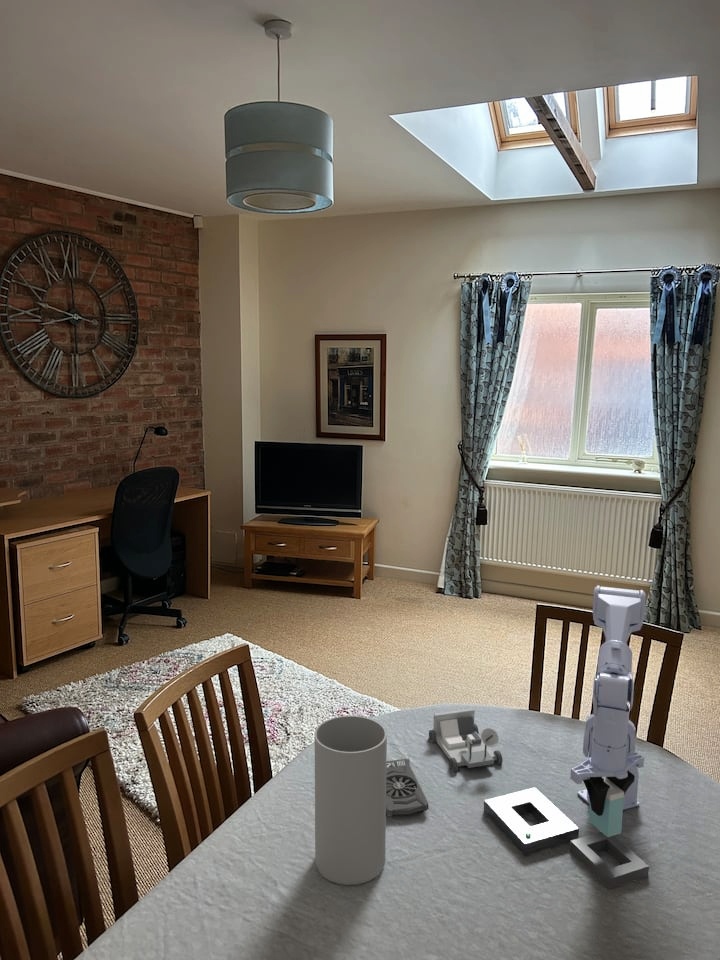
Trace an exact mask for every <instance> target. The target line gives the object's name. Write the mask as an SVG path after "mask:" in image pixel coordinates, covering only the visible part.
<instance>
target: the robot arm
mask: <svg viewBox="0 0 720 960" xmlns="http://www.w3.org/2000/svg"><path fill="white" fill-rule="evenodd" d="M646 594H647V593H646V592H645V591H644V589H640V590H639V589H638V590H637V589H629V588H619V587H618V588H617V587H609V586H600V585H599V584H597V585H596V586H595V587H594V589H593V598H592V617H593V618H592V620H593V622H594V623H593V624H594V625H596V626H597V627H598V628H601V629H602V630H603V634H604V637H605V642H603V644H601V645H600V646H599V649H598V658H597V659H598V661H597V670H596V674H594V677H593V687H592V703H593V707H592V708H593V713H592V714H589V715H588V716H587V718H586V719H585V725H584V731H583V741H582V742H583V744H582V754H583V756H584V757H585V758H587V759H586V760H585V761H583V762H582V763H580V764H579V765H577V766H575V767H573V768H570V779H571V780H572V781H573V782H574V783H575V784H576V785H581V784H584V786H585V789H581V790H578V791H577V796H579V797H580V798H582V799H583V801H585V802H586V803H587V804H588V805H590V803H591V809H592V811H593V812H595V813H596V814H597V815H598V816H601V815H602V814H603V810H604V802H605V798H606V794H607V792H608V790H609V788H610V786H609V785H608V784H606V783H605V782H604V779H603V778H602V777H606V778H607V779H608V780H610V781H611V782H612V783H614V784H615V785H616V786H617V787H619V788H620V789H621V790H622V791H624V802H623V811H624V810H629V809H632V808H635V807H639V806H640V802H639V801H638V792H639V791H638V790H639V789H638V787H639V777H640V776H639V774H640V773H639V770H638V768H639V769H640V768H644V762H645V757H644V756H643V755H642V754H640V753H639V752H637V751H636V744H637V743H636V741H637V740H636V738H637V737H636V727H635V724H634V723H633V722H632V721H631V720H630V711H632V709H633V705H634V704H633V703H634V691H635V681H634V678H633V677H634V674H633V671H632V667H633V651H632V649H631V648H630V646H629V645H628V640H629V638H630V636H631V634H632V633H633V632H638V631H641V629H642V627H643V623H644V620H645V613H646V612H645V611H646V597H647V595H646ZM628 704H629V705H628Z"/></svg>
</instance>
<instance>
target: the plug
mask: <svg viewBox="0 0 720 960" xmlns="http://www.w3.org/2000/svg"><path fill="white" fill-rule="evenodd" d="M602 778H603V779H604V782H605V783H606V784H608V785H609V786H610V788H609V790H608V792H607V794H606V798H605V802H604V810H603V814H602V815H601V816H598V815H597V814H596V813H595V812H593V811H592V809H591V803H590V804H588V805H589V809H588V822H589V823H591V824H592V825H593V826H594V827H595V828H596V829H598V830H599V832H602V833H603V834H604V835H605V836H607V837H610V836H613V835H614V836H616V835H617V836H618V835H619V834H622V827H623V815H624V814H623V811H624V810H623V802H624V791H622V790H621V789H620V788H619V787H617V786H616V785H615V784H614V783H612V782H611V781H610V780H608V779H607V778H606V777H602Z"/></svg>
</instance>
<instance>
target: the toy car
mask: <svg viewBox="0 0 720 960" xmlns="http://www.w3.org/2000/svg"><path fill="white" fill-rule="evenodd" d="M475 711H476V710H475V708H472V707H470V708H463V709H457V710H451V711H442V712H438V713H437V712H435V713H433V729H430V730H429V731H428V738H429V740H430V741H431V743H432V744H435V743H437V744H438V745H439V747H440V748H441V750H442V751H443V752H444V754H445V755H446V757H447V758H448V760H449V761H448V764H449V768H450V769H451V770H452V772H453V773H457V772H458V770H459V767H463V766H467V768H468V769H469V768H476V767H482V766H483V767H484V766H488V765H493V764H494V763H496V764H497V765H498V766H499V765H502V764H503V755H502V753H501V751H500V750H494V751H493V750H492V749H491V748H493V747H496V746H497V745H498V743H499V739H500V738H499V735H498V732H496V730H494V729H492V728H489V727H488V728H487V727H486V728H484V729H483V730H482V731H481V734H480V735H479V727H478V724H476V723H475V714H476V713H475ZM495 761H496V762H495Z"/></svg>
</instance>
